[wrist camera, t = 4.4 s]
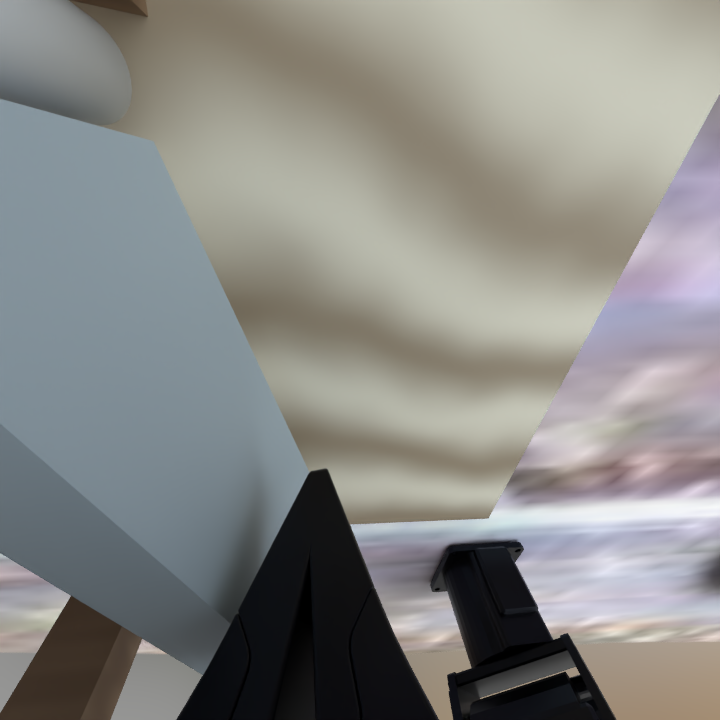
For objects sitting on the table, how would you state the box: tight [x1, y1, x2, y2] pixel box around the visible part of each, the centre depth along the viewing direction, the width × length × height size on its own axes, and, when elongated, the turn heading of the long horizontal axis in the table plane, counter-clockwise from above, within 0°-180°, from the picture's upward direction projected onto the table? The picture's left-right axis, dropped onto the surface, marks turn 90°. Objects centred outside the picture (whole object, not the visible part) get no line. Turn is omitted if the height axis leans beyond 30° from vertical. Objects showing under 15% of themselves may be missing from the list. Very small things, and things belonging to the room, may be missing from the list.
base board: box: [69, 0, 720, 524], centre depth 13 cm, size 26×24×1 cm
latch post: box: [0, 596, 142, 720], centre depth 12 cm, size 3×3×9 cm
